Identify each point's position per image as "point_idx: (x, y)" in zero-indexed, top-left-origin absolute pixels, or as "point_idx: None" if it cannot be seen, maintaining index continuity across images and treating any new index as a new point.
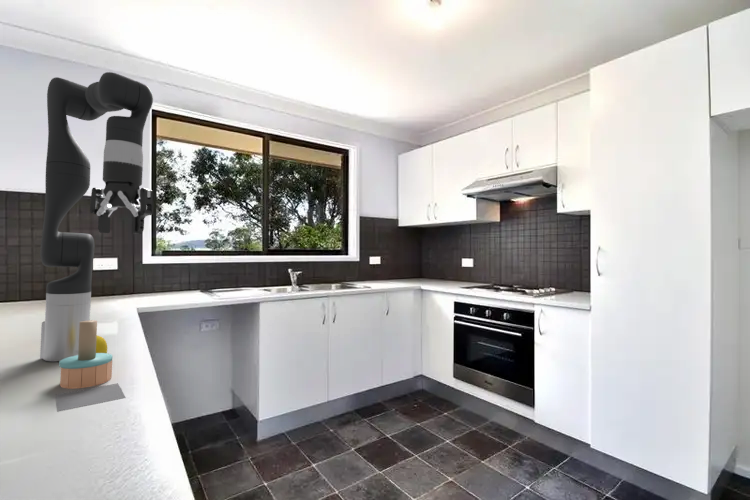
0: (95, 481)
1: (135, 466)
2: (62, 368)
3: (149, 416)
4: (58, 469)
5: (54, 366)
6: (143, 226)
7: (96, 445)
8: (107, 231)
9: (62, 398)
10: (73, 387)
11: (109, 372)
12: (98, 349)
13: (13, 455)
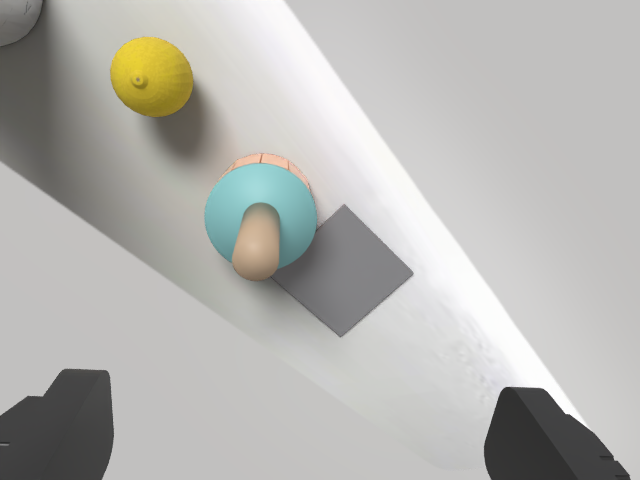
0: None
1: None
2: None
3: (491, 323)
4: (460, 440)
5: (55, 87)
6: (616, 468)
7: (467, 399)
8: (103, 400)
9: (301, 292)
10: None
11: (310, 192)
12: (185, 97)
13: (387, 427)
